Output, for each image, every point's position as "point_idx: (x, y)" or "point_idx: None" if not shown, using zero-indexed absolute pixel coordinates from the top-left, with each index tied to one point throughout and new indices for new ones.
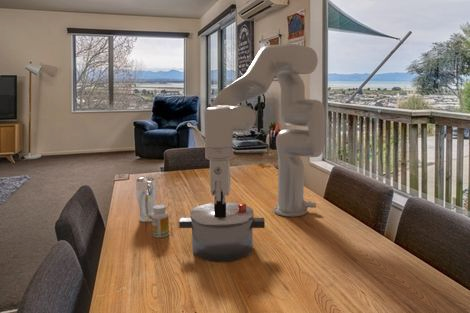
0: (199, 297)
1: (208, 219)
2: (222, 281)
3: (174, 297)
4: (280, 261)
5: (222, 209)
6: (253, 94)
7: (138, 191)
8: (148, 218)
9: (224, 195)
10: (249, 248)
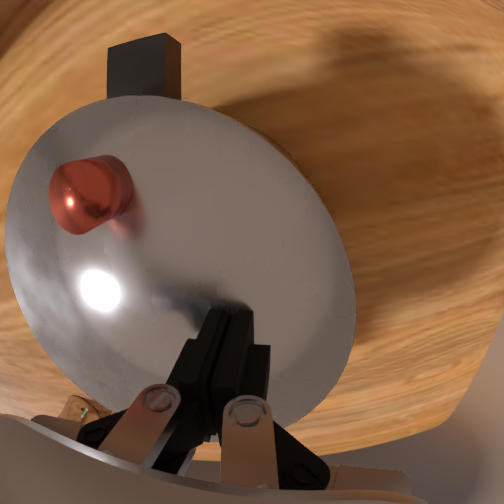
0: (487, 282)
1: (295, 393)
2: (441, 228)
3: (470, 332)
4: (311, 18)
5: (265, 373)
6: None
7: None
8: (91, 414)
9: (229, 474)
10: (247, 126)
